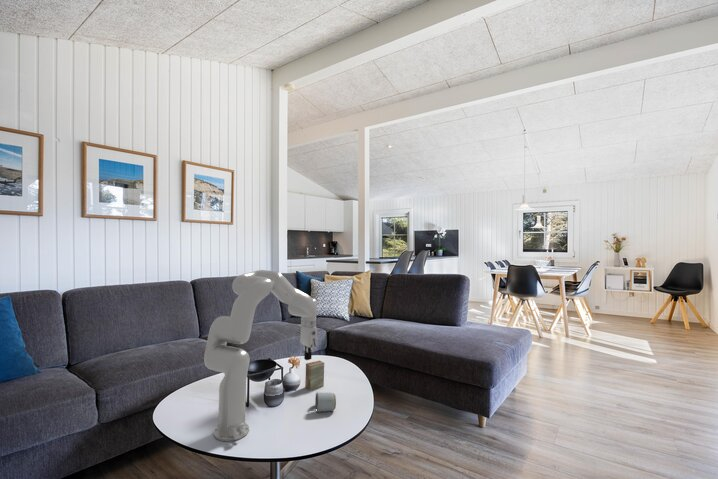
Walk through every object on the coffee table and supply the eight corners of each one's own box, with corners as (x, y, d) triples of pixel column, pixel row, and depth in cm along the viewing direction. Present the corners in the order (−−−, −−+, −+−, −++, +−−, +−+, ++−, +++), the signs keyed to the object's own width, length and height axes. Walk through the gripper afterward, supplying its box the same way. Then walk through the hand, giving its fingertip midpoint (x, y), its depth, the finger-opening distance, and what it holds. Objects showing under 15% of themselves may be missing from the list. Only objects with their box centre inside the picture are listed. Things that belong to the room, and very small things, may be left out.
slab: (323, 387, 181) (324, 362, 180) (309, 391, 176) (310, 366, 175) (319, 384, 184) (319, 360, 184) (305, 388, 179) (305, 363, 179)
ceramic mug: (336, 413, 155) (336, 395, 156) (317, 415, 153) (317, 396, 153) (331, 402, 166) (332, 385, 166) (313, 404, 164) (314, 387, 164)
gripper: (322, 325, 181) (322, 362, 182) (307, 319, 193) (306, 353, 194) (309, 327, 177) (308, 365, 177) (294, 321, 189) (294, 356, 189)
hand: (307, 359), depth 185 cm, fingers closed
